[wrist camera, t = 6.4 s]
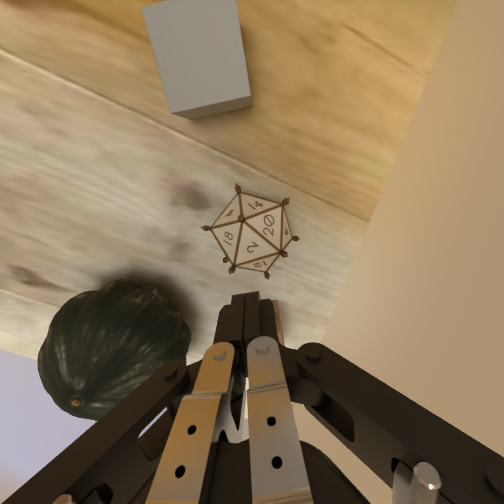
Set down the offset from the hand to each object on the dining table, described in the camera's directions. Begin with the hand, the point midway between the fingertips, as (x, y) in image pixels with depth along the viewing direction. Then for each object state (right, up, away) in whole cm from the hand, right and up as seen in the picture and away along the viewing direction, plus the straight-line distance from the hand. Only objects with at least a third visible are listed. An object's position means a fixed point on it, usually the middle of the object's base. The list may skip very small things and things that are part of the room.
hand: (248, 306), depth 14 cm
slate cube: (-3, +19, +8) cm, 21 cm away
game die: (0, +7, +14) cm, 15 cm away
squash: (-14, -5, +19) cm, 25 cm away
